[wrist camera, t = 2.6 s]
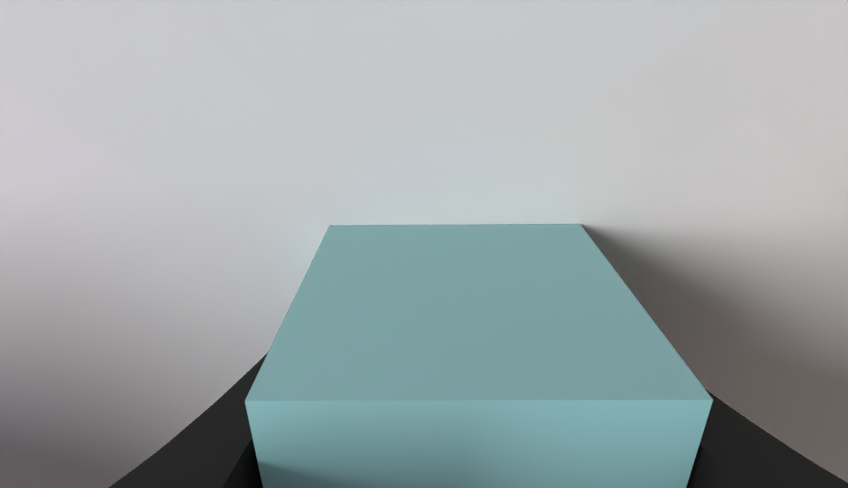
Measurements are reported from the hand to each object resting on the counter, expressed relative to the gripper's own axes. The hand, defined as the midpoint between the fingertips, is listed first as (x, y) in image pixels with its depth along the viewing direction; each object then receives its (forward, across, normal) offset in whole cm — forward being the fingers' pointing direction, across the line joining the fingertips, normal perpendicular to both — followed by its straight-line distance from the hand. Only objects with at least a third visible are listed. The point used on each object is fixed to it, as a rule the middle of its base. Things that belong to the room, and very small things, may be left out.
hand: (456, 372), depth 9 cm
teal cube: (+2, 0, 0) cm, 2 cm away
